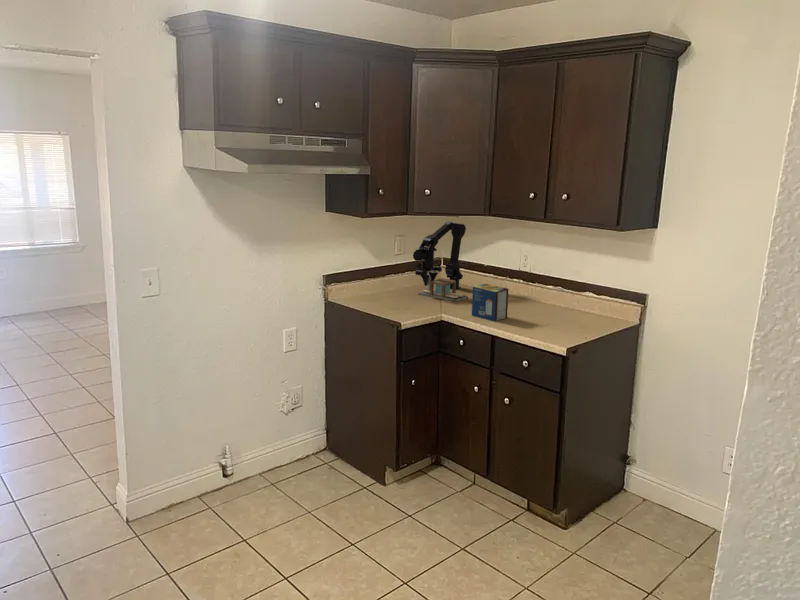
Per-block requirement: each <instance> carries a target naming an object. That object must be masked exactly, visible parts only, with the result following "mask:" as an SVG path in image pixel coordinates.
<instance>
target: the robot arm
mask: <svg viewBox="0 0 800 600" xmlns="http://www.w3.org/2000/svg"><path fill="white" fill-rule="evenodd" d="M466 229H467V227H466V225H465V224H464V223H459V222H458V223H457V222H453V221H445V222H444V224H442V225H441V227H439V228H438V229H437V230H436V231H435V232H433V233H432V234H428V235H426V236H425V237H423V239H422V242H421V244H420V245H419V248H415V251H414V252H413V254H412V257H413V260H414V261H416V262H415V263H414V269H416V270H415V275H416V276H420V277H421V279H422V282H423V284H424V286H425V287H426V286H427V283H428V279H429V276H431V281H433V280H436V277H437V276H438V274H439V273H440V272H442V271H443V269H442V267H441V266H439V265H434V264H435V263H436V260H435V252H437V248H436V246H437V245H438V243H439V240H441V238H443V237H444V236H445V235H446V234H447V233H448V232H450V231H451V233H450V234H451V237H452V241H451V243H452V245H451V251H450V258H449V262H448V263H445V268H444V271H445V275H446V277H447V278H446V279H450V280H456V290H459V289H462V286H460V280H462V279H463V277H464V274H462V273H461V271H460V270H461V269H460V268H461V267H460V264H459V255H460V252H461V251H460V250H461V243H462V239H463V237H464V236H465V233H466ZM417 261H422V262H421V263H419V262H417ZM452 284H453V283H452ZM452 284H450V290H452Z"/></svg>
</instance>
